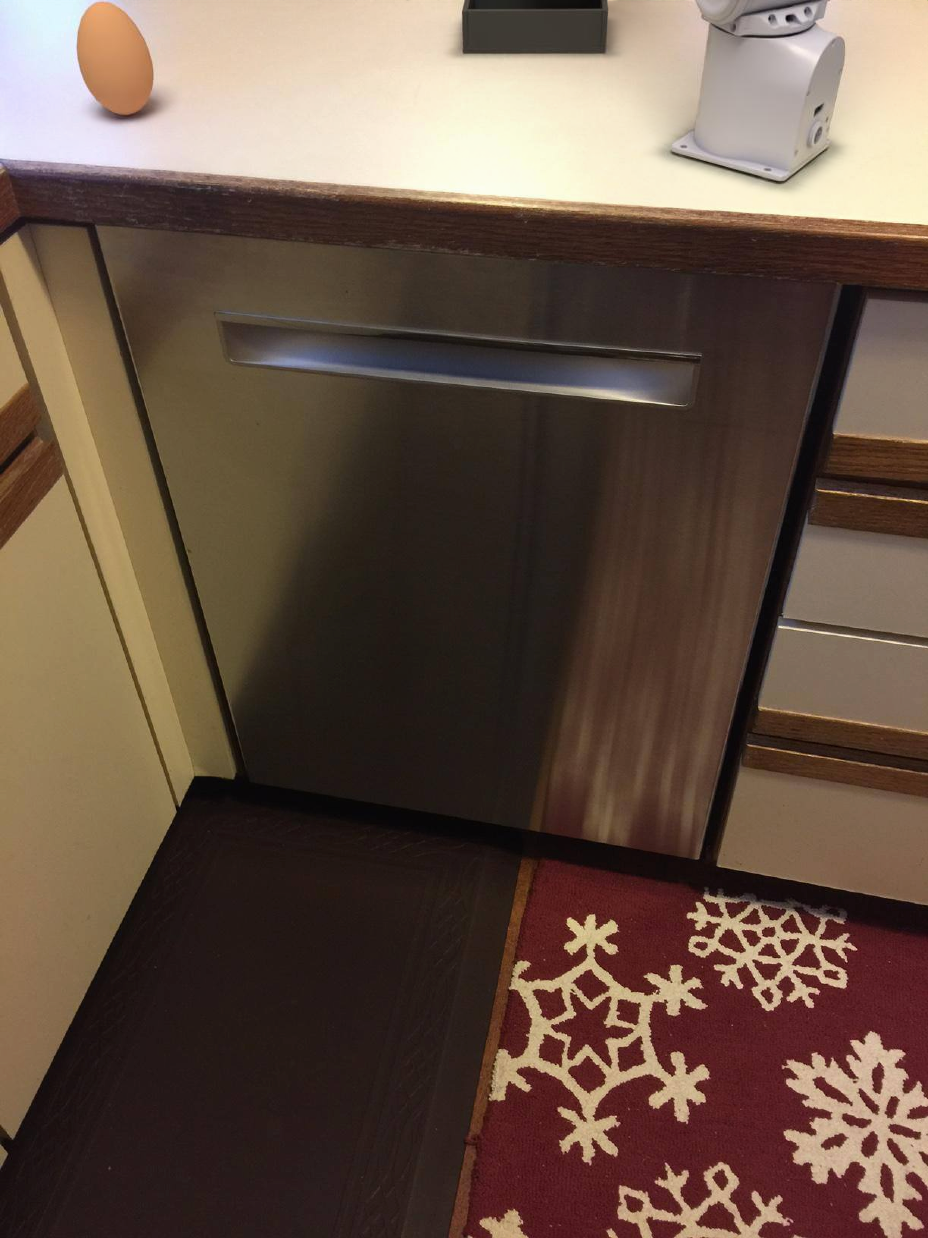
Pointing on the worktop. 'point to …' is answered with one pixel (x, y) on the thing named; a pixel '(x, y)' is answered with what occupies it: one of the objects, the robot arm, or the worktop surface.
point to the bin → (534, 26)
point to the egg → (114, 59)
